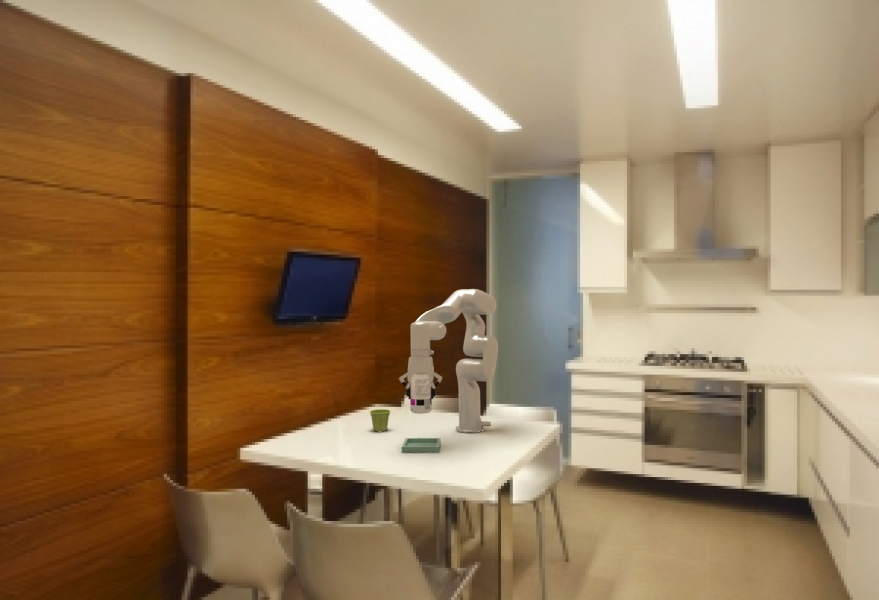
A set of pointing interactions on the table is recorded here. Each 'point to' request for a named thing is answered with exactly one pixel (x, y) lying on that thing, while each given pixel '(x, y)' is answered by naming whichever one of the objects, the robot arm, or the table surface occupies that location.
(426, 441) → the tray
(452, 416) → the table surface
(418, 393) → the supplement can
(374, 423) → the plant pot
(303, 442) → the table surface
